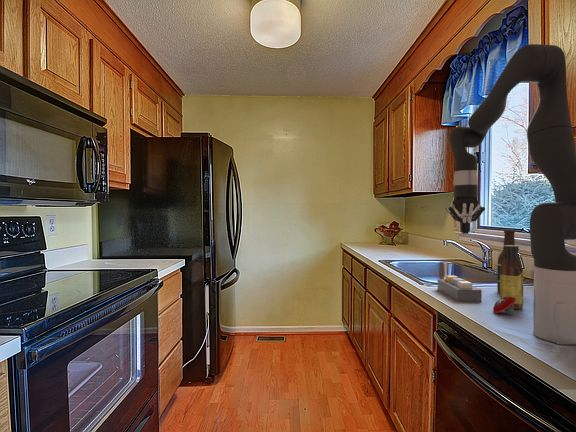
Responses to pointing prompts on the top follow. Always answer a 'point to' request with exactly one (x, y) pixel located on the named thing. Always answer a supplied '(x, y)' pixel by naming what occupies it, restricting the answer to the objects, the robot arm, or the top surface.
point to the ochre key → (448, 278)
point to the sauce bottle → (511, 276)
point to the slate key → (456, 280)
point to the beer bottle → (507, 241)
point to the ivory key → (464, 285)
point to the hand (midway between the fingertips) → (465, 233)
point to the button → (504, 305)
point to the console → (459, 291)
